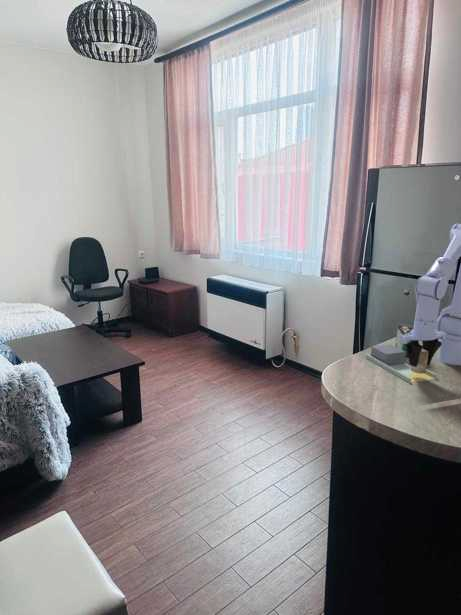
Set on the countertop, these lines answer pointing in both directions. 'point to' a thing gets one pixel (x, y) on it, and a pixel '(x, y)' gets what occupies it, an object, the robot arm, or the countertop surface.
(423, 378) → the runway
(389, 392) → the countertop surface
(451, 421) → the countertop surface
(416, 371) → the roller pin
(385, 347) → the slab
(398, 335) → the food container
